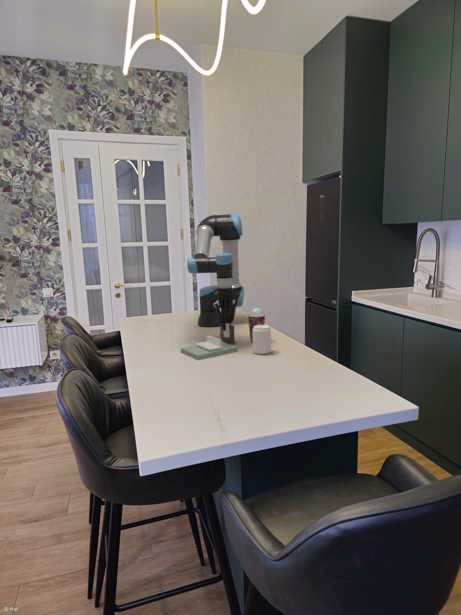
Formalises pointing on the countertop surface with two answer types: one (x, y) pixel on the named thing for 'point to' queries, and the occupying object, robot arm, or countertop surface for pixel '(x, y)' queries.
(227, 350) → the socket plate
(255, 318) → the smoothie
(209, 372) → the countertop surface
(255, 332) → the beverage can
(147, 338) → the countertop surface
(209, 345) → the panel
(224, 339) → the plug
